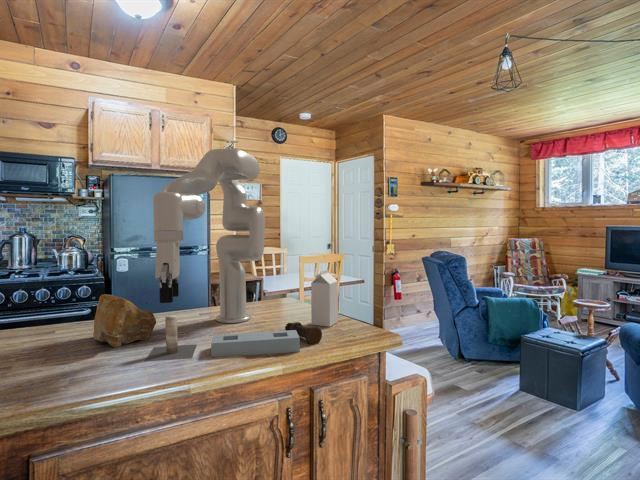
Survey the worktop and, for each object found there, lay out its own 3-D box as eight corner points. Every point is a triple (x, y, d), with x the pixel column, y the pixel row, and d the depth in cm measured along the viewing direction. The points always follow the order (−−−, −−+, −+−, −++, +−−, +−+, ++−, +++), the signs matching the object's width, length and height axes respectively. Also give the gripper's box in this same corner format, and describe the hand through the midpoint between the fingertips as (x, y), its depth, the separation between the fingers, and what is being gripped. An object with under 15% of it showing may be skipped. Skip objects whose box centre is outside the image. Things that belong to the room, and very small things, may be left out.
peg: (167, 350, 113) (166, 315, 112) (178, 350, 113) (177, 315, 113) (165, 354, 110) (164, 318, 109) (177, 353, 110) (175, 317, 110)
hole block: (211, 358, 108) (211, 343, 108) (213, 348, 116) (213, 335, 115) (299, 351, 112) (299, 337, 112) (295, 343, 120) (295, 329, 120)
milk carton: (337, 322, 144) (337, 270, 143) (329, 327, 138) (329, 272, 137) (319, 320, 147) (319, 269, 146) (311, 325, 141) (310, 271, 140)
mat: (154, 348, 116) (154, 347, 116) (197, 345, 119) (196, 344, 119) (144, 362, 105) (144, 361, 105) (192, 359, 107) (192, 357, 107)
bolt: (291, 338, 132) (317, 348, 120) (279, 333, 130) (305, 342, 117) (298, 321, 134) (324, 329, 122) (286, 316, 131) (312, 323, 119)
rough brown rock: (163, 348, 119) (166, 297, 120) (100, 354, 110) (103, 299, 110) (145, 333, 138) (147, 289, 139) (90, 337, 128) (93, 291, 129)
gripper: (160, 236, 118) (161, 294, 118) (146, 238, 101) (147, 305, 101) (187, 236, 119) (187, 294, 120) (178, 237, 102) (179, 304, 103)
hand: (169, 299), depth 110 cm, fingers open, 9 cm apart
